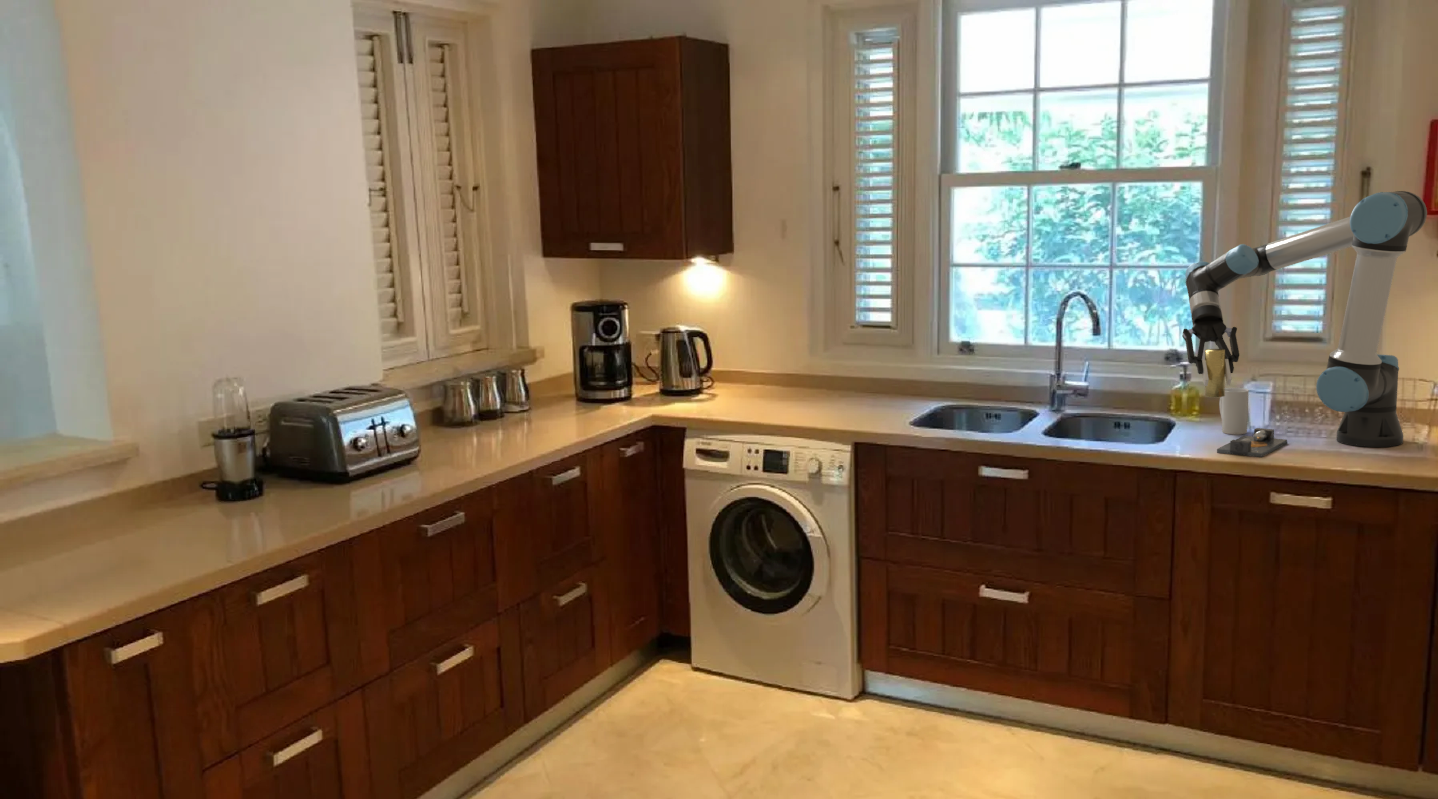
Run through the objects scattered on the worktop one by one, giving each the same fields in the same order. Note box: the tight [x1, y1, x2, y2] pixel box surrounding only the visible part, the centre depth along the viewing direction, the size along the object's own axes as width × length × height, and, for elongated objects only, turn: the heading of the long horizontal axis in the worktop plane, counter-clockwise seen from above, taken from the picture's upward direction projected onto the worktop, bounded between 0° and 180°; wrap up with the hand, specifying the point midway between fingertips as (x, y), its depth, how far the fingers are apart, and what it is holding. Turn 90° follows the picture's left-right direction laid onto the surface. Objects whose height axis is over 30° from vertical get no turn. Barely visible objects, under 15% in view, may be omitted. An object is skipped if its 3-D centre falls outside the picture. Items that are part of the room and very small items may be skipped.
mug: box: [1218, 387, 1250, 436], centre depth 321 cm, size 10×7×12 cm, turn 11°
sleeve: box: [1204, 348, 1226, 398], centre depth 300 cm, size 5×5×12 cm
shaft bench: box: [1216, 427, 1288, 458], centre depth 301 cm, size 19×11×3 cm, turn 136°
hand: (1217, 382), depth 296 cm, fingers closed on sleeve, 5 cm apart
